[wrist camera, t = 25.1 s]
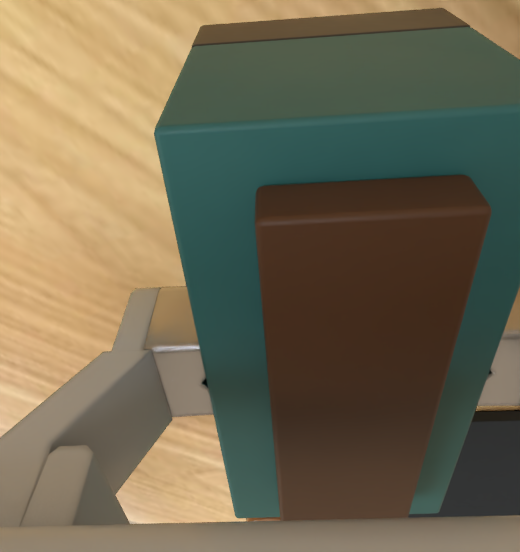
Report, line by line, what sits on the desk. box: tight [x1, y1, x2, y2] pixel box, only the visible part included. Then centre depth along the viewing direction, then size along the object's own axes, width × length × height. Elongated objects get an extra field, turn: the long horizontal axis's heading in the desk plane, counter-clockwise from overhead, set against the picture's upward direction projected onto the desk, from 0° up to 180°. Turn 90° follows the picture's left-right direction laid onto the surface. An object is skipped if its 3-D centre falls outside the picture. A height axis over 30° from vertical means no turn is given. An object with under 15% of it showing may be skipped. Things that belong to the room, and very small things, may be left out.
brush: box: [154, 8, 520, 521], centre depth 9 cm, size 4×9×6 cm, turn 4°
